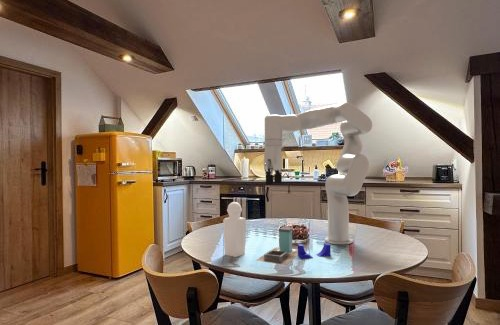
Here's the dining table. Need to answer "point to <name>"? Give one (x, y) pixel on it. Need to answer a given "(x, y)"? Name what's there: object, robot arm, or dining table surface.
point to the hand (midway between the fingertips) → (273, 183)
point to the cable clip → (325, 252)
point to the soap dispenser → (234, 231)
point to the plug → (285, 239)
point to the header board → (279, 256)
